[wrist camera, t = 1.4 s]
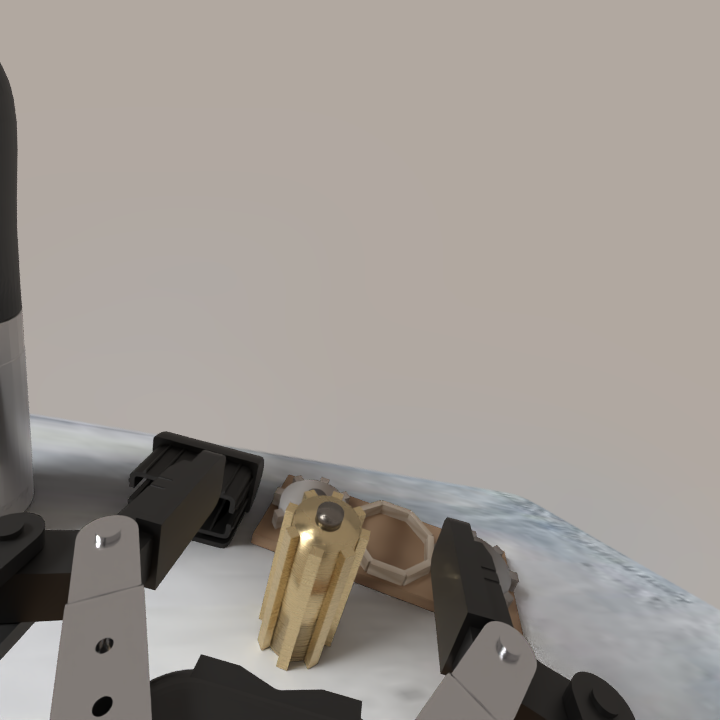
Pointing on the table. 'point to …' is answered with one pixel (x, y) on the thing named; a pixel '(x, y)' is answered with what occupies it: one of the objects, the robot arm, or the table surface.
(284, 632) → the pinion
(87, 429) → the table surface
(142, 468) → the end cap
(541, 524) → the table surface
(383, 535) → the gear board
